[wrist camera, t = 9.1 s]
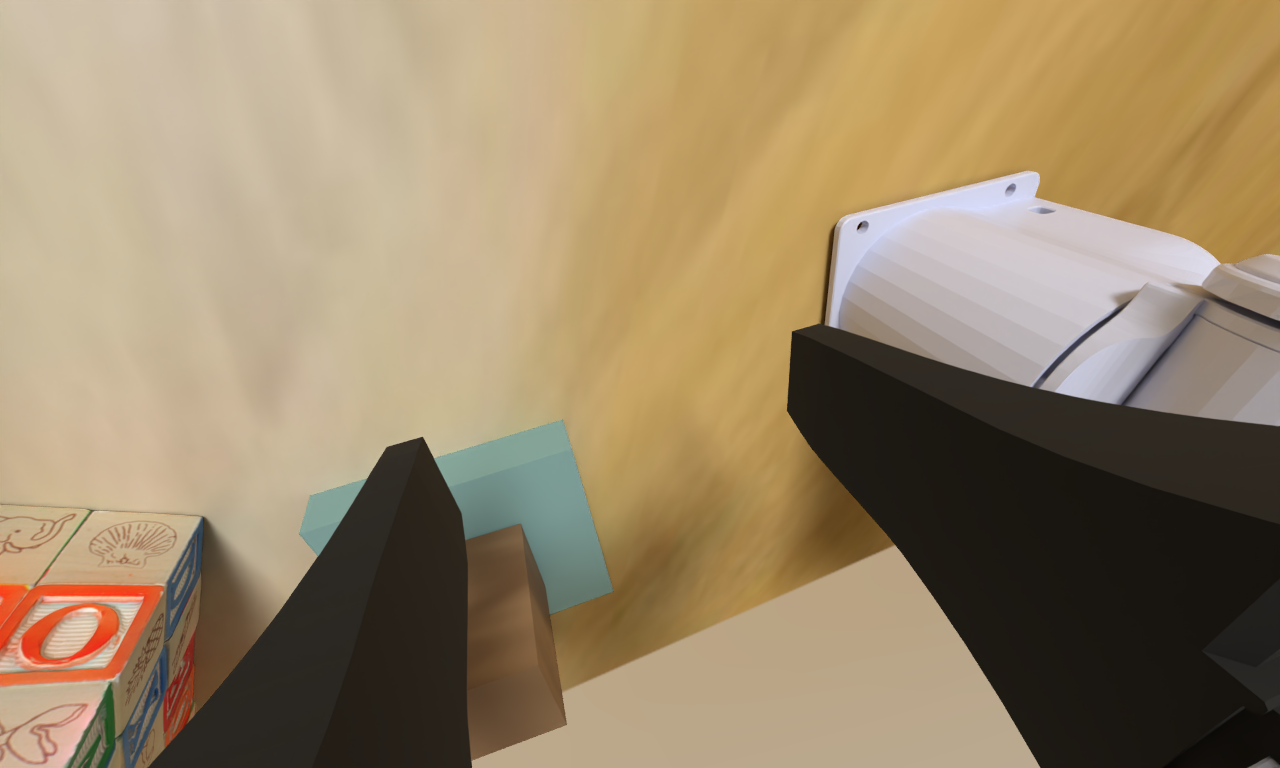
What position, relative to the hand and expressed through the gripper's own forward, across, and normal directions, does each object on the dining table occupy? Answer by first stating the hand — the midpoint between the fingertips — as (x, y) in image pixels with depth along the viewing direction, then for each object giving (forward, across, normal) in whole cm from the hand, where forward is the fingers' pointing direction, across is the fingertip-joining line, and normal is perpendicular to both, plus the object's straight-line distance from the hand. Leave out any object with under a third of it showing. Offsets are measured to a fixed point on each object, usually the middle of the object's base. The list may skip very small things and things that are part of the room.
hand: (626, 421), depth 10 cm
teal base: (+10, +6, +12) cm, 17 cm away
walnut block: (+8, +6, +12) cm, 16 cm away
